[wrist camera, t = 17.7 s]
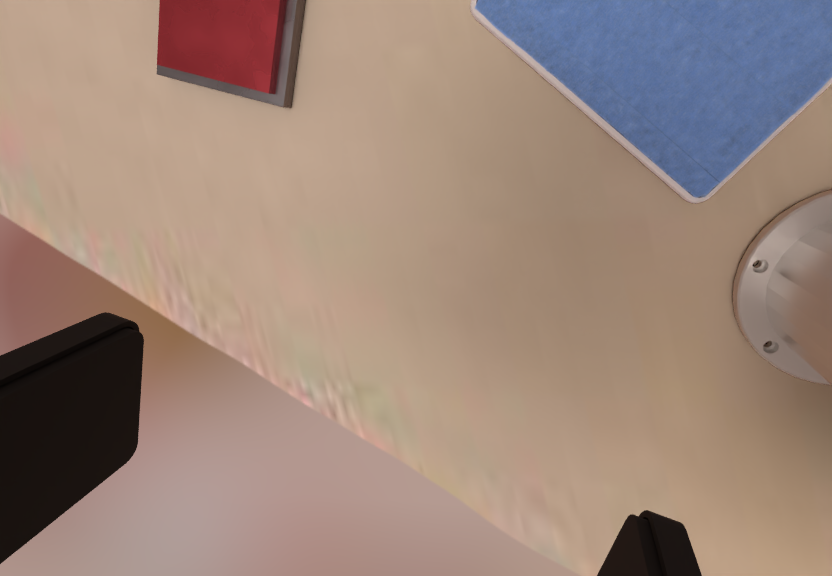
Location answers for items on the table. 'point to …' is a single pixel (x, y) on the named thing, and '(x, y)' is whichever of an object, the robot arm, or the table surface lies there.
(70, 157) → the table surface
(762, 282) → the robot arm
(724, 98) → the blue flat pad
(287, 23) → the ink pad
